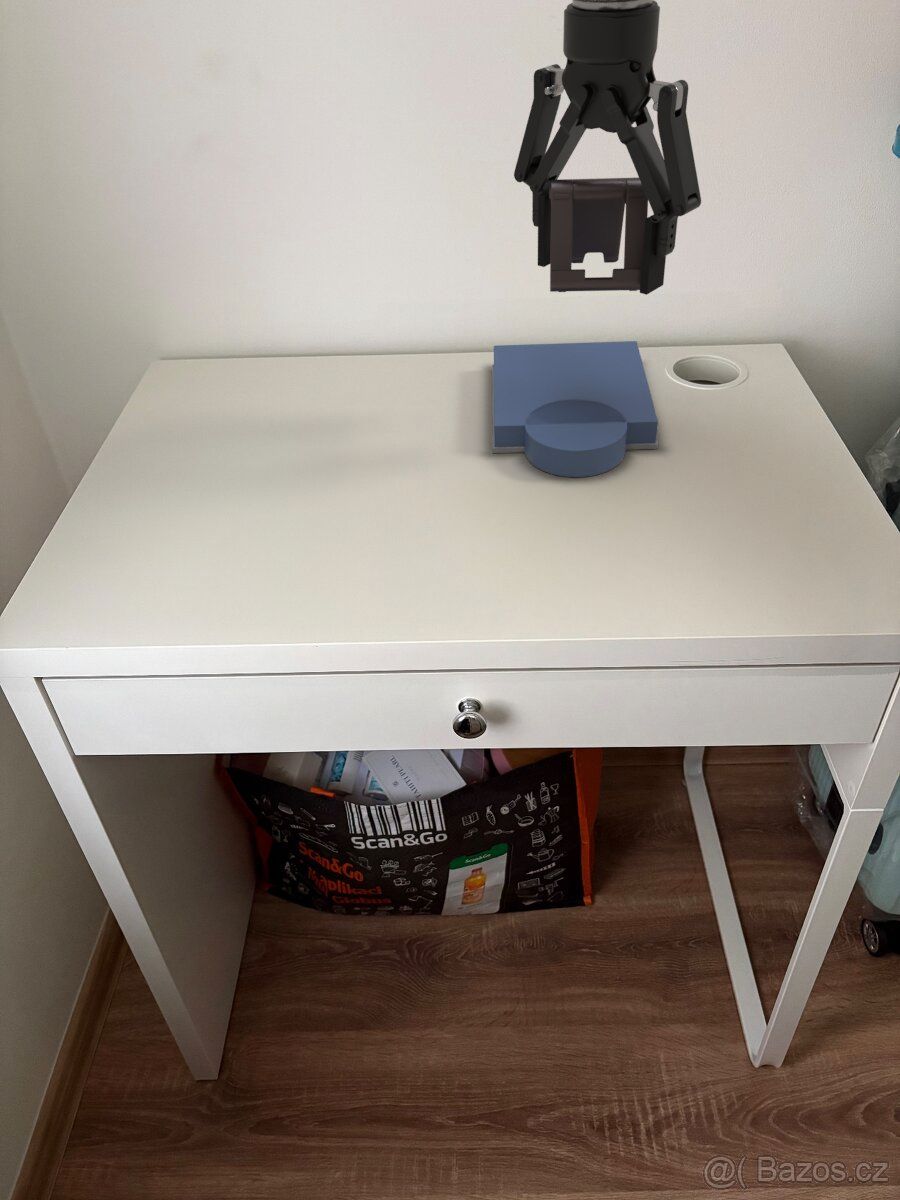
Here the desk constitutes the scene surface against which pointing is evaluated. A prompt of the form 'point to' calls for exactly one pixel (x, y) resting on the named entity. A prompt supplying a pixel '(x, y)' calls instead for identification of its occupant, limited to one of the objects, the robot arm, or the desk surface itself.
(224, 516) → the desk surface
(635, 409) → the blue square with disc
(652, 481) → the desk surface
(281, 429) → the desk surface
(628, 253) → the tablet stand
